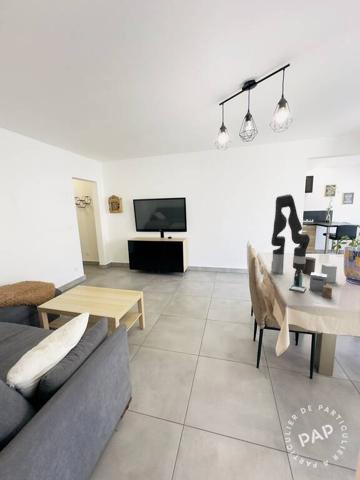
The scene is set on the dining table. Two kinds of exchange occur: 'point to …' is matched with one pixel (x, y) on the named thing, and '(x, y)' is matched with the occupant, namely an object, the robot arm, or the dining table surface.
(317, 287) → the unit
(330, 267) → the supplement box
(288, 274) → the dining table surface
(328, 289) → the walnut block
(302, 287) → the tray
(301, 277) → the teal block
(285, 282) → the dining table surface
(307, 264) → the pillar candle
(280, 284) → the dining table surface
